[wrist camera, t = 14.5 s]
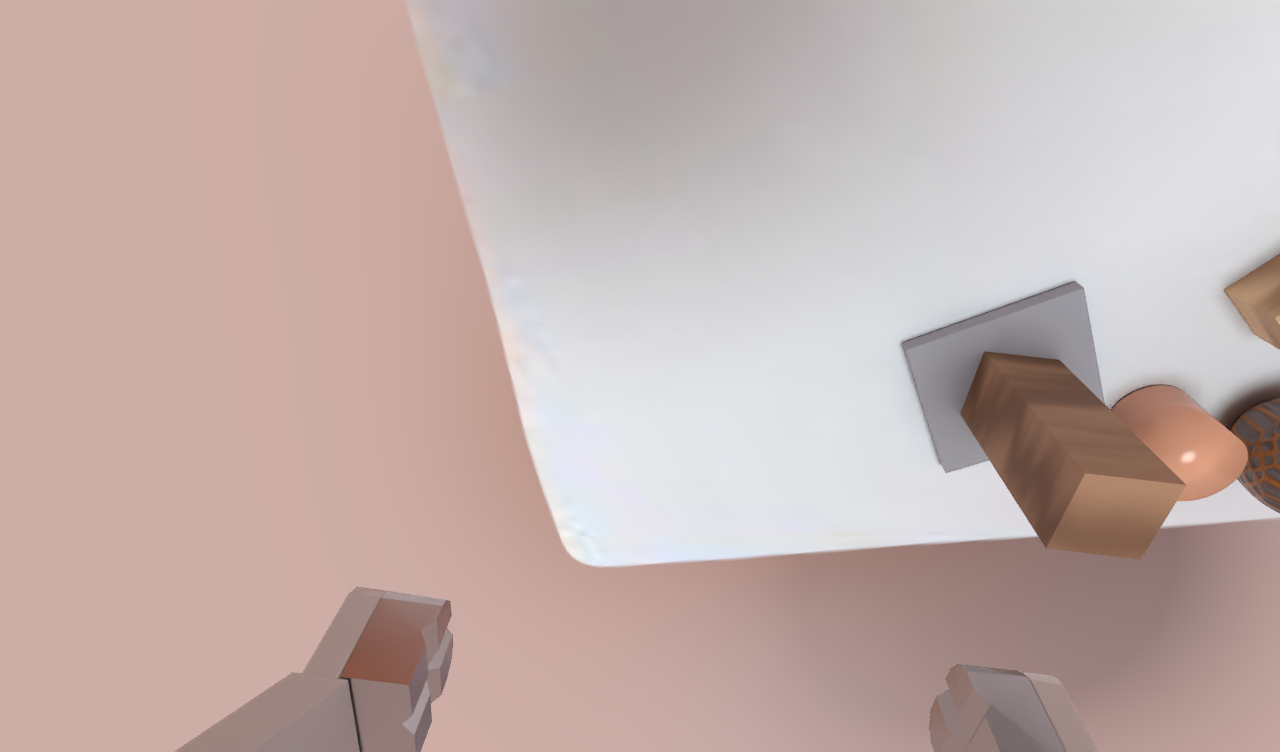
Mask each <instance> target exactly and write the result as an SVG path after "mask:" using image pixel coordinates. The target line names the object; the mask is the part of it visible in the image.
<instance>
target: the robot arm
mask: <svg viewBox="0 0 1280 752" xmlns="http://www.w3.org/2000/svg"><path fill="white" fill-rule="evenodd" d="M450 618H451V604H450V601H448V600H443V599H437V598H430V597H424V596H418V595H411V594H405V593H398V592H392V591H384V590H377V589H369V588H362V587H356V588H355V589H354V590H353V591H352V592H350V593H349V594H348V596H347V597H346V599H345V601H344V603H343V604H342V606H341V608H340V609H339V611H338V613H337V614H336V616H335V618H334V620H333V621H332V623H331V625H330V626H329V628H328V630H327V632H326V633H325V635H324V637H323V638H322V640H321V642H320V644H319V645H318V647H317V649H316V650H315V652H314V654H313V655H312V657H311V659H310V661H309V663H308V664H307V666H306V667H305V669H304V671H303V673H291V674H290V675H288V676H287V677H285V678H284V679H282V680H281V681H279V682H278V683H276V684H275V685H273V686H272V687H270V688H269V689H267V690H266V691H264V692H263V693H261V694H260V695H258V696H257V697H255V698H254V699H252V700H251V701H249V702H248V703H246V704H245V705H243V706H242V707H240V708H239V709H237V710H236V711H234V712H233V713H231V714H230V715H228V716H227V717H225V718H224V719H222V720H221V721H219V722H218V723H216V724H215V725H213V726H212V727H210V728H209V729H207V730H206V731H204V732H203V733H201V734H200V735H198V736H197V737H195V738H194V739H192V740H191V741H189V742H188V743H186V744H185V745H184V746H182V747H180V748H179V749H177V750H176V751H174V752H421V749H422V746H423V743H424V741H425V738H426V735H427V733H428V730H429V727H430V725H431V722H432V716H431V703H432V702H433V701H434V700H435V699H436V698H438V697H439V696H440V695H441V694H442V692H443V689H444V686H445V683H446V680H447V677H448V672H449V667H450V664H451V659H452V649H453V634H452V633H451V632H450V631H449V630H448V629H447V626H448V623H449V621H450ZM946 681H947V684H948V687H949V690H947V691H945V692H944V693H942V694H940V695H938V696H937V697H936V699H935V701H934V703H933V706H932V708H931V712H930V724H929V729H930V736H931V743H932V746H933V749H934V752H1099V751H1098V749H1097V747H1096V745H1095V743H1094V742H1093V740H1092V738H1091V736H1090V734H1089V732H1088V731H1087V729H1086V727H1085V725H1084V723H1083V721H1082V720H1081V718H1080V716H1079V714H1078V712H1077V711H1076V709H1075V707H1074V705H1073V703H1072V701H1071V699H1070V698H1069V696H1068V694H1067V692H1066V690H1065V689H1064V687H1063V685H1062V684H1061V682H1060V681H1059V680H1057V678H1056V677H1055V676H1049V675H1041V674H1033V673H1025V672H1018V671H1014V670H1005V669H996V668H988V667H979V666H970V665H961V664H957V665H955V666H954V667H952V668H951V669H950V671H949V673H948V675H947V677H946Z"/></svg>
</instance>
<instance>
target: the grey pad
mask: <svg viewBox="0 0 1280 752" xmlns="http://www.w3.org/2000/svg"><path fill="white" fill-rule="evenodd" d="M902 345H903V348H904V351H905V354H906V357H907V360H908V363H909V366H910V369H911V373H912V376H913V379H914V382H915V385H916V388H917V391H918V394H919V397H920V401H921V404H922V407H923V410H924V413H925V416H926V419H927V422H928V425H929V428H930V432H931V435H932V438H933V441H934V444H935V447H936V450H937V453H938V456H939V460H940V463H941V465H942V467H943V469H944V471H945V473H948V472H951V471H955V470H958V469H962V468H965V467H968V466H972V465H975V464H978V463H982V462H985V461H988V460H989V458H988V457H987V455H986V454H985V452H984V451H983V449H982V448H981V446H980V444H979V443H978V441H977V440H976V438H975V437H974V435H973V434H972V432H971V430H970V429H969V427H968V426H967V424H966V423H965V421H964V420H963V418H962V416H961V415H960V413H961V410H962V408H963V405H964V402H965V400H966V397H967V395H968V392H969V389H970V387H971V384H972V382H973V379H974V377H975V374H976V371H977V369H978V366H979V364H980V361H981V359H982V356H983V353H984V351H987V352H996V353H1004V354H1013V355H1022V356H1031V357H1039V358H1048V359H1057V360H1060V361H1061V362H1062V363H1063V364H1064V365H1065V366H1066V367H1067V368H1068V369H1069V370H1070V371H1071V372H1072V373H1073V374H1074V375H1075V376H1076V377H1077V378H1078V379H1079V380H1080V381H1081V382H1082V383H1083V384H1084V385H1086V386H1087V387H1088V388H1089V389H1090V390H1091V391H1092V392H1093V393H1094V394H1095V395H1096V396H1097V397H1098V398H1099V399H1100V400H1101V401H1102V402H1103V403H1104V398H1103V392H1102V386H1101V381H1100V375H1099V370H1098V364H1097V359H1096V353H1095V347H1094V342H1093V336H1092V331H1091V325H1090V319H1089V314H1088V308H1087V303H1086V297H1085V292H1084V288H1083V287H1082V286H1081V285H1079V284H1078V283H1076V282H1072V283H1070V284H1067V285H1064V286H1061V287H1058V288H1055V289H1053V290H1050V291H1047V292H1044V293H1041V294H1039V295H1036V296H1033V297H1030V298H1027V299H1024V300H1022V301H1019V302H1016V303H1013V304H1010V305H1007V306H1005V307H1002V308H999V309H996V310H993V311H991V312H988V313H985V314H982V315H979V316H976V317H974V318H971V319H968V320H965V321H962V322H959V323H957V324H954V325H951V326H948V327H945V328H943V329H940V330H937V331H934V332H931V333H928V334H926V335H923V336H920V337H917V338H914V339H911V340H909V341H906V342H903V343H902ZM1104 404H1105V403H1104Z"/></svg>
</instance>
